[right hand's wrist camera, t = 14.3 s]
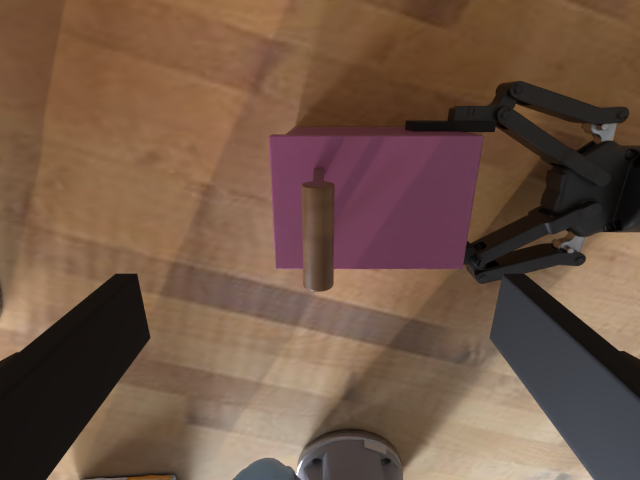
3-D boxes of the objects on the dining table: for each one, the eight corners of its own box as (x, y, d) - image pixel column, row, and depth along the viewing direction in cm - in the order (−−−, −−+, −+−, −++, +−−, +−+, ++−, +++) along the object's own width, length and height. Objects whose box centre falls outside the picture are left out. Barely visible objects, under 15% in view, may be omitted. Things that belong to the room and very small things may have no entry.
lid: (277, 263, 28) (261, 322, 21) (271, 134, 25) (248, 147, 17) (457, 263, 28) (509, 322, 21) (477, 134, 25) (548, 146, 17)
